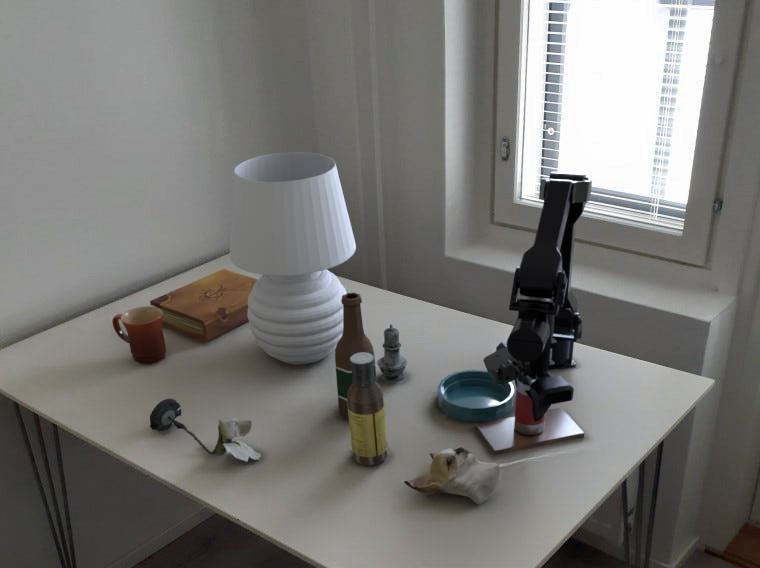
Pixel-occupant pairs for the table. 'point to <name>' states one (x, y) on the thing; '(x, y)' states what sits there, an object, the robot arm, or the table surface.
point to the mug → (143, 333)
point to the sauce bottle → (366, 412)
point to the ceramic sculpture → (459, 476)
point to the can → (526, 409)
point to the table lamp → (292, 251)
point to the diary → (207, 305)
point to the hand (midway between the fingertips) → (530, 412)
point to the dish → (474, 396)
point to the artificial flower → (234, 428)
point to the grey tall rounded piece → (392, 357)
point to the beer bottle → (349, 347)
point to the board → (508, 439)
